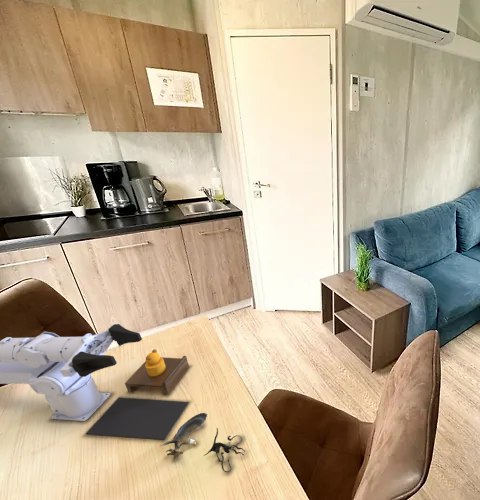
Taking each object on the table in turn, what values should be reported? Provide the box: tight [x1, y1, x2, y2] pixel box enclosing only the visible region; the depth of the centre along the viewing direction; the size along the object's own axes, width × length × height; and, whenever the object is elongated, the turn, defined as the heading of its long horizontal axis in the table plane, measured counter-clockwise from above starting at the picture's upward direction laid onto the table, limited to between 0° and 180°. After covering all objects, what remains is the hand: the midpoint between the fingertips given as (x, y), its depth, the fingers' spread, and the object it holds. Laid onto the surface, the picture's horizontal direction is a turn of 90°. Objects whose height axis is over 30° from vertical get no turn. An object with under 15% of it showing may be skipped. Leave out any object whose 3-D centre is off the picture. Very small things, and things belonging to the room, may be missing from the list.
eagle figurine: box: [159, 412, 208, 460], centre depth 67 cm, size 8×7×9 cm
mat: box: [85, 397, 189, 441], centre depth 73 cm, size 20×10×1 cm, turn 86°
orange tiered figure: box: [145, 349, 166, 376], centre depth 82 cm, size 4×4×7 cm
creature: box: [203, 427, 246, 473], centre depth 64 cm, size 8×5×8 cm
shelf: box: [124, 355, 190, 396], centre depth 84 cm, size 12×10×5 cm
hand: (127, 348), depth 66 cm, fingers open, 7 cm apart
